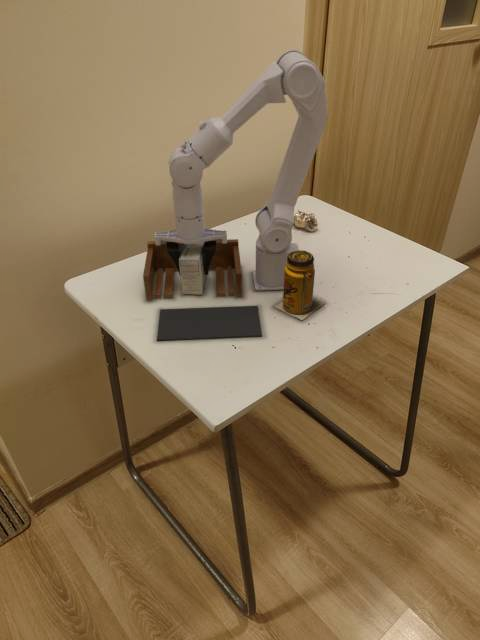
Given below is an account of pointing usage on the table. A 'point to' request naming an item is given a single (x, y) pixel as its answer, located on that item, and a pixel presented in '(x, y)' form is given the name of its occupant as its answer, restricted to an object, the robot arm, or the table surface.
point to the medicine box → (192, 268)
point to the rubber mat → (209, 323)
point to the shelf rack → (162, 261)
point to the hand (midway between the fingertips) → (194, 273)
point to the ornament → (305, 220)
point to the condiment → (299, 286)
